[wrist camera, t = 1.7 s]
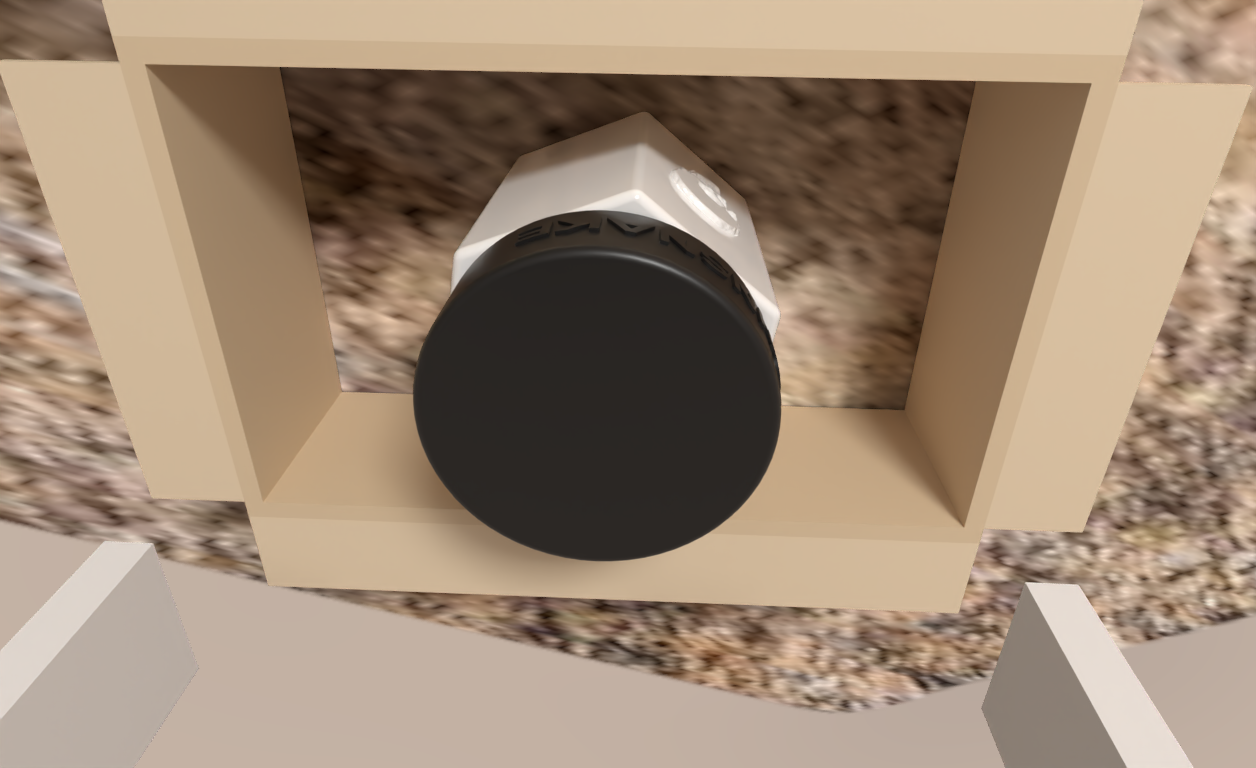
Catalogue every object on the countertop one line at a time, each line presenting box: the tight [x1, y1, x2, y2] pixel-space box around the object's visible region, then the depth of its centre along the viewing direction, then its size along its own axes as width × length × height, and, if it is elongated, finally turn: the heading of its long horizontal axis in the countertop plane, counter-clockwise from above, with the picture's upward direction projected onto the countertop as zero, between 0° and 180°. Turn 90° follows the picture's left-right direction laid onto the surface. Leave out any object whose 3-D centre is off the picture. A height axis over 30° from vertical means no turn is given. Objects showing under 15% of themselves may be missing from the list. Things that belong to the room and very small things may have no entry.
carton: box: [0, 0, 1253, 613], centre depth 25 cm, size 29×20×7 cm
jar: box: [413, 112, 781, 561], centre depth 22 cm, size 9×8×12 cm
